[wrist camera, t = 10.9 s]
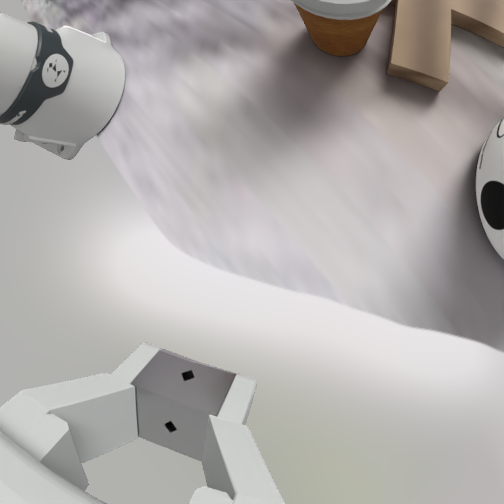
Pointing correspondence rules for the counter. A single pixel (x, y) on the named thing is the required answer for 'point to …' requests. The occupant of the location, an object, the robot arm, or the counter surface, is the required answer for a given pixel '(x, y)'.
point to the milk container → (492, 187)
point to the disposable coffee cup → (340, 23)
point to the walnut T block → (437, 35)
